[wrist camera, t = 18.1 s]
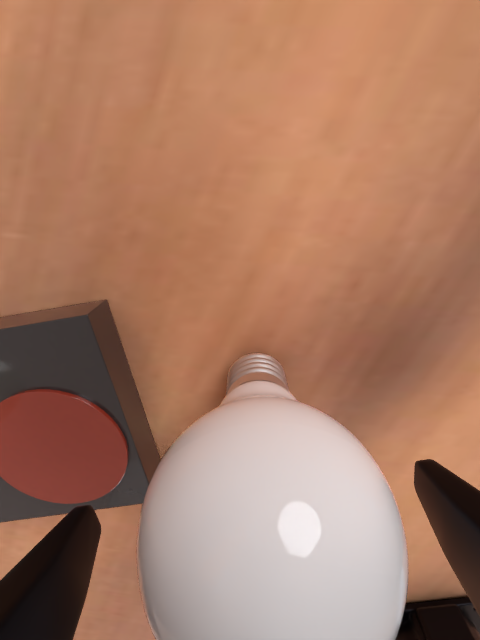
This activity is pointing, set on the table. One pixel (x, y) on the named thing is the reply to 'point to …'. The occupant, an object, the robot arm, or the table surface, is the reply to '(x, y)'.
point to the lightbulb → (270, 525)
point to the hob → (76, 391)
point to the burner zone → (60, 447)
